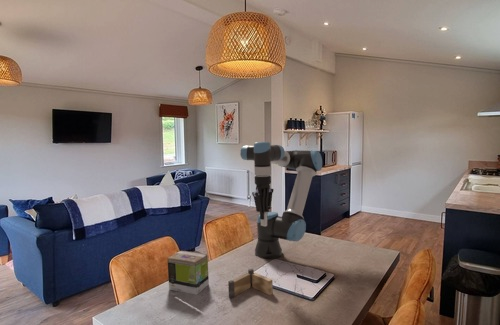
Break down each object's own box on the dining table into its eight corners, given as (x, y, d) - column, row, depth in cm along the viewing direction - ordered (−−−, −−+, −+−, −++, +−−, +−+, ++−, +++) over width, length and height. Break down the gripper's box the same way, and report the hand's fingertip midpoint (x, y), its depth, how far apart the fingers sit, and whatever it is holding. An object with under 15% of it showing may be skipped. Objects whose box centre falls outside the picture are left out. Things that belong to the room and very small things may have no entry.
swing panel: (247, 285, 135) (247, 270, 135) (251, 283, 137) (250, 268, 136) (269, 295, 126) (269, 279, 126) (273, 293, 128) (272, 277, 127)
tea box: (209, 285, 138) (208, 253, 136) (196, 296, 129) (195, 262, 127) (182, 280, 144) (180, 249, 143) (168, 290, 135) (166, 257, 134)
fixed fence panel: (227, 298, 126) (227, 282, 126) (247, 287, 135) (246, 272, 134) (231, 300, 125) (231, 283, 124) (251, 289, 133) (250, 273, 133)
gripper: (265, 173, 148) (266, 221, 151) (247, 176, 139) (248, 227, 141) (277, 174, 143) (278, 223, 145) (259, 177, 134) (261, 230, 136)
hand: (264, 225), depth 143 cm, fingers closed
